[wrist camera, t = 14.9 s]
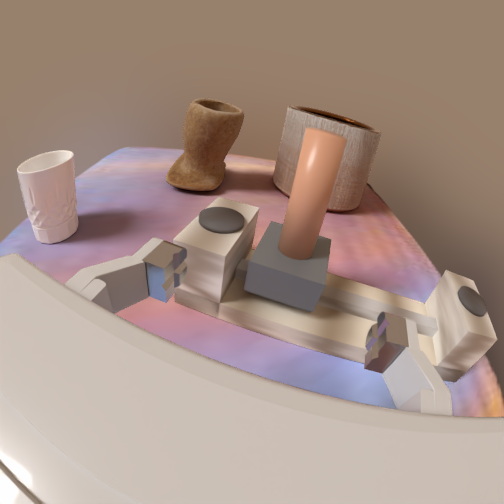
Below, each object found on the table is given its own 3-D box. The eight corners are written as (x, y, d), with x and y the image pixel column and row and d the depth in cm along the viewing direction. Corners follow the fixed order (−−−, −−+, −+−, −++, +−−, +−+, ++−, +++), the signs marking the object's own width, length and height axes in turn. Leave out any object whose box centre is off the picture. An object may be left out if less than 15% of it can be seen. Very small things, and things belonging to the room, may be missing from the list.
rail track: (443, 322, 28) (474, 278, 23) (455, 382, 20) (499, 336, 16) (213, 251, 32) (219, 193, 28) (175, 301, 25) (173, 234, 21)
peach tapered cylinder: (318, 273, 28) (363, 139, 20) (308, 321, 23) (372, 156, 14) (263, 255, 29) (293, 119, 21) (241, 299, 24) (274, 128, 15)
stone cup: (230, 201, 44) (243, 107, 35) (158, 192, 43) (162, 100, 34) (237, 170, 56) (248, 100, 47) (181, 163, 55) (187, 94, 46)
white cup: (93, 225, 33) (85, 153, 27) (49, 254, 26) (31, 177, 21) (63, 210, 34) (55, 148, 29) (24, 235, 28) (8, 167, 22)
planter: (344, 184, 61) (362, 121, 52) (370, 222, 46) (398, 141, 37) (270, 169, 59) (283, 101, 50) (273, 204, 45) (293, 111, 36)
